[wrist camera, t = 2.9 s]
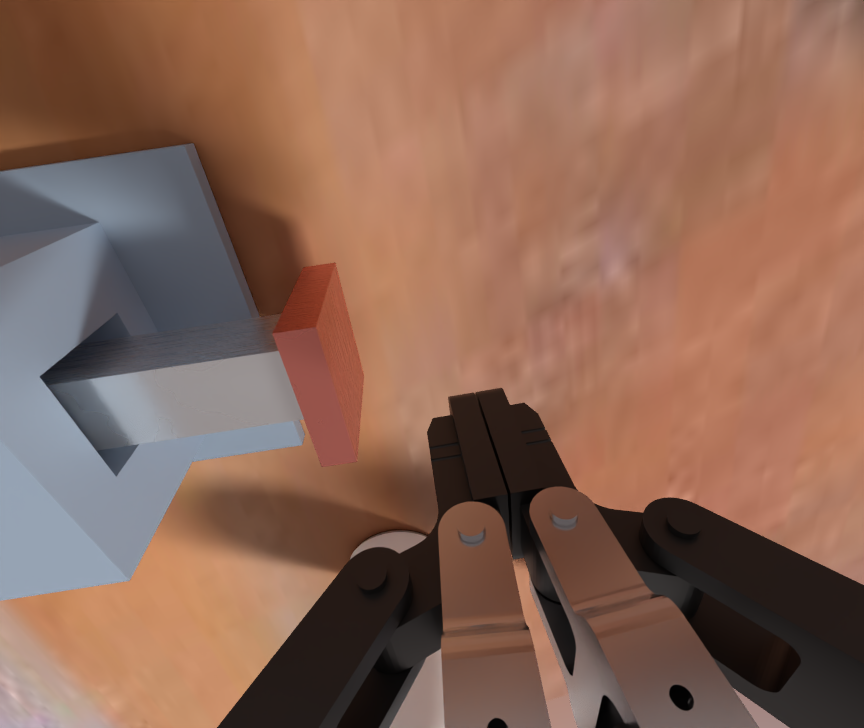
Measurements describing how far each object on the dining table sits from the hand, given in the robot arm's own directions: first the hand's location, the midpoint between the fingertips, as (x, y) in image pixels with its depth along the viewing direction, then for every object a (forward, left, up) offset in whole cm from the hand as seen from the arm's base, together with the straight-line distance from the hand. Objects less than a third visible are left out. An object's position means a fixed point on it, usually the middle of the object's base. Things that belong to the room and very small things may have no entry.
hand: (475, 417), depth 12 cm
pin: (+11, 0, -7) cm, 12 cm away
